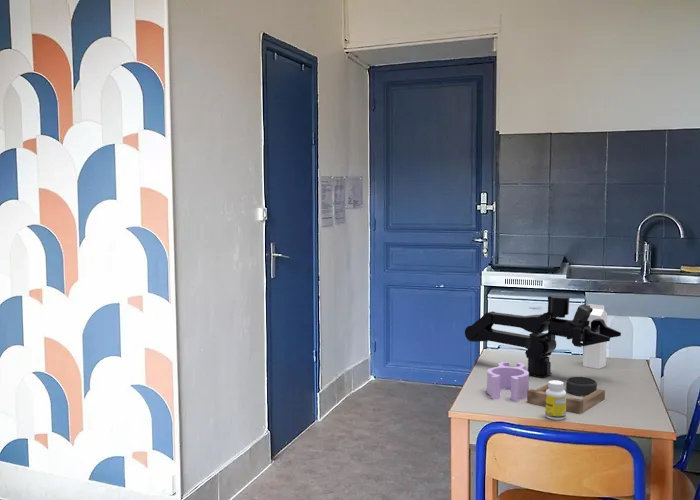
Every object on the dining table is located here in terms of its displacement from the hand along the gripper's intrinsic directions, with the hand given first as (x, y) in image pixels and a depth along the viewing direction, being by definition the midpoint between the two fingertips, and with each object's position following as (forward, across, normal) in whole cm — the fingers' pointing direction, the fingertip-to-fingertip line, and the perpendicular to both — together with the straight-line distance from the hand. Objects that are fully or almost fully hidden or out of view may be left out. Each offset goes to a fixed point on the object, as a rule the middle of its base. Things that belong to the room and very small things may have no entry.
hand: (615, 336), depth 209 cm
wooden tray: (-6, -20, +17) cm, 27 cm away
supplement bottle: (-2, -37, +17) cm, 41 cm away
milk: (-15, +23, +17) cm, 32 cm away
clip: (-23, -23, +18) cm, 37 cm away
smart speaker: (-6, -10, +17) cm, 21 cm away
